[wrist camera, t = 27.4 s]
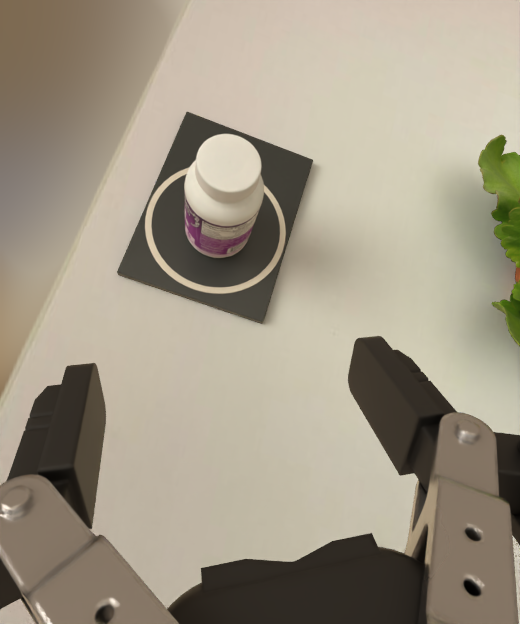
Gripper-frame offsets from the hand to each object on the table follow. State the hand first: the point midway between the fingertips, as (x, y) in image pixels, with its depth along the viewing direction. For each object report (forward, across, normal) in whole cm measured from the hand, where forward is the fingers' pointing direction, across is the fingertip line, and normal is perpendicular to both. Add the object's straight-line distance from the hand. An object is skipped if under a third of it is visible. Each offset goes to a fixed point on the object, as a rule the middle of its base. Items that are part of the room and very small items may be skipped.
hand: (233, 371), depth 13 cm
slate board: (+24, -3, +3) cm, 25 cm away
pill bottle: (+23, -2, +4) cm, 23 cm away
